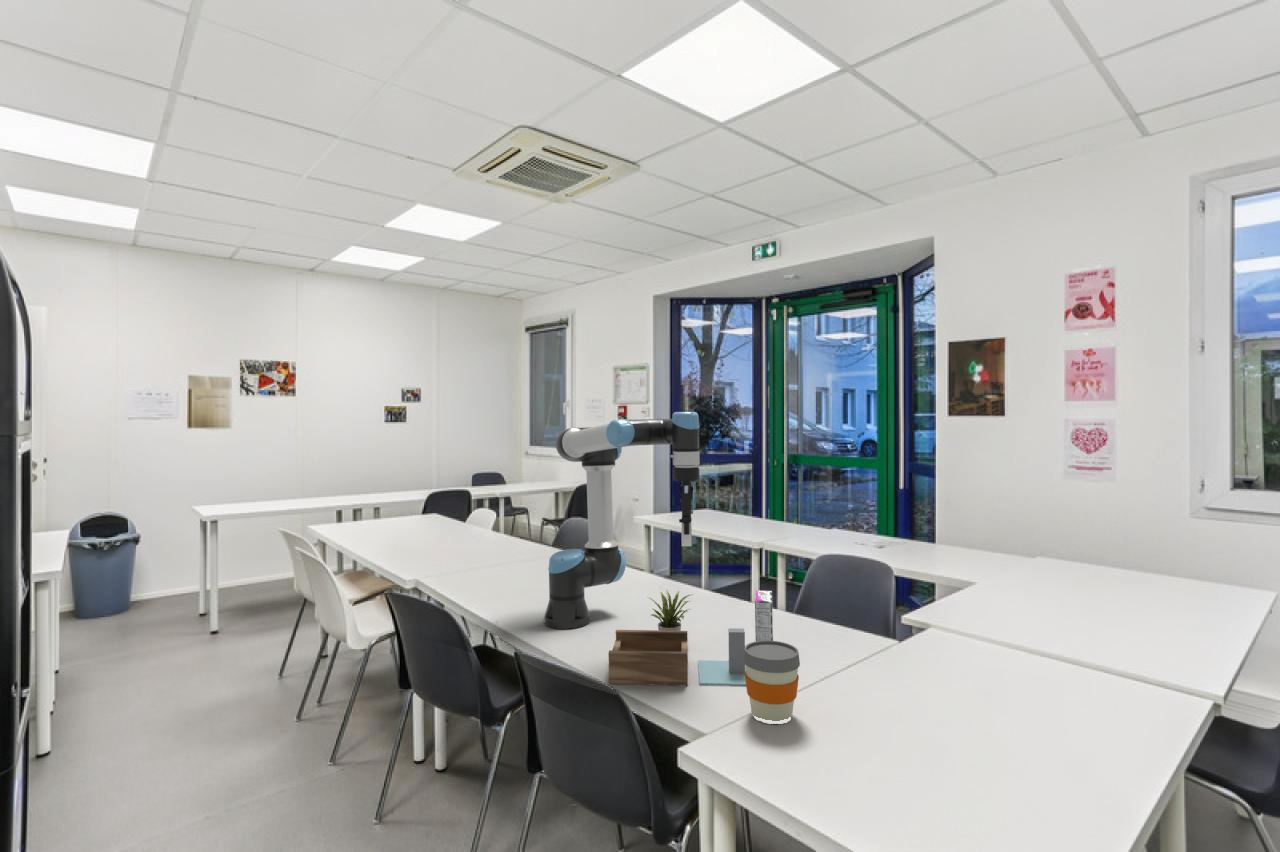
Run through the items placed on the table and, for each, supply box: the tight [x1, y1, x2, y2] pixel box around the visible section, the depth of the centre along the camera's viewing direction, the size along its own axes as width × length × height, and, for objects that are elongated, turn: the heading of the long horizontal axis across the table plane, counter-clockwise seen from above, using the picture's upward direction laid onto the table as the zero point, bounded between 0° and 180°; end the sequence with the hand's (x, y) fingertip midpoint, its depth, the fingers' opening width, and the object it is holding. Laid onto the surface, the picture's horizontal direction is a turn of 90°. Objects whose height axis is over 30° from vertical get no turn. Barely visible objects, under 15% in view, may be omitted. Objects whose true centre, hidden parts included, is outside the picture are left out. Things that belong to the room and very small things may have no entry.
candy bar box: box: [754, 590, 774, 642], centre depth 182 cm, size 11×5×16 cm, turn 168°
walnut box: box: [608, 629, 689, 687], centre depth 169 cm, size 17×20×8 cm
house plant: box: [647, 589, 694, 631], centre depth 188 cm, size 14×14×16 cm
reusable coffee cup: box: [743, 640, 801, 721], centre depth 144 cm, size 13×12×15 cm
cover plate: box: [697, 627, 746, 687], centre depth 167 cm, size 15×20×12 cm
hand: (686, 541), depth 179 cm, fingers open, 13 cm apart
